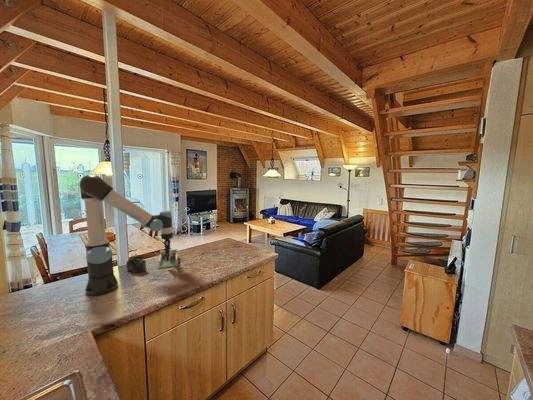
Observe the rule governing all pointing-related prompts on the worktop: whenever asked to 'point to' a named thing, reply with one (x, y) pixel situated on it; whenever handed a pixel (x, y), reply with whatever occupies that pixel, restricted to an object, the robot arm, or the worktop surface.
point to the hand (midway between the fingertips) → (168, 261)
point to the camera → (136, 264)
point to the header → (172, 262)
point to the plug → (170, 255)
